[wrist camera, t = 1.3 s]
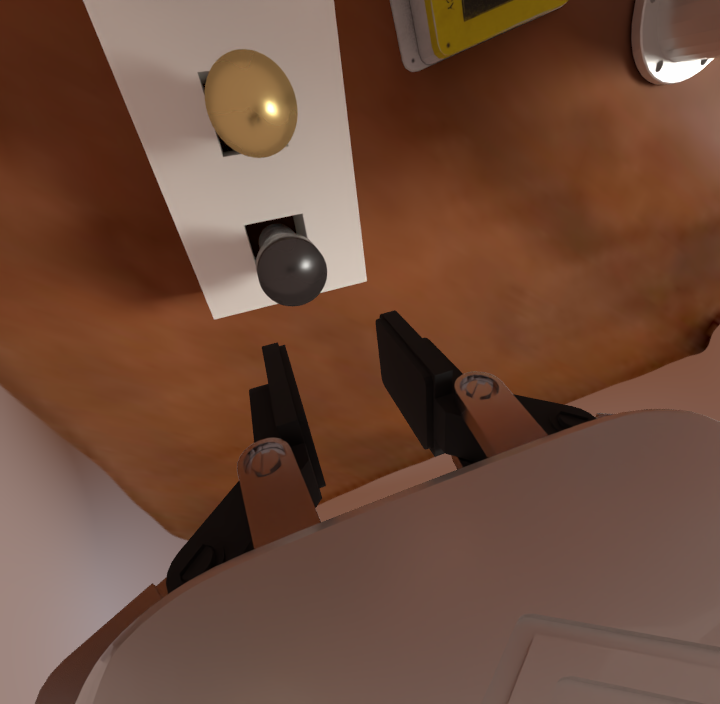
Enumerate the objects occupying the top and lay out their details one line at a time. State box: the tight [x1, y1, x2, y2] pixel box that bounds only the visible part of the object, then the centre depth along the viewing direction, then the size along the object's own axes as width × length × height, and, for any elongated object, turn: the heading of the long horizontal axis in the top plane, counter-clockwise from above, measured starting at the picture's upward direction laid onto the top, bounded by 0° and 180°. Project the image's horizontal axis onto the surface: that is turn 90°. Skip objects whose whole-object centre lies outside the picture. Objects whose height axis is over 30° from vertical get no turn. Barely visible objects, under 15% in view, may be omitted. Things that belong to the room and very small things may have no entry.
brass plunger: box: [205, 49, 298, 158], centre depth 19 cm, size 4×4×7 cm
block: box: [83, 0, 367, 319], centre depth 23 cm, size 12×24×6 cm, turn 7°
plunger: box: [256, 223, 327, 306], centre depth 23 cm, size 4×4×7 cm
